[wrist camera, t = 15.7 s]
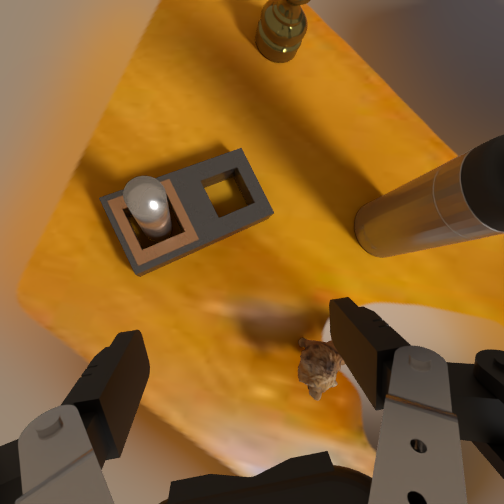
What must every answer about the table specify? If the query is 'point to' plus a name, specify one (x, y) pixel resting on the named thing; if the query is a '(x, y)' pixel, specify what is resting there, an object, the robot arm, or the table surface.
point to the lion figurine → (318, 366)
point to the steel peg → (149, 206)
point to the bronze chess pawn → (281, 29)
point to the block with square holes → (191, 211)
